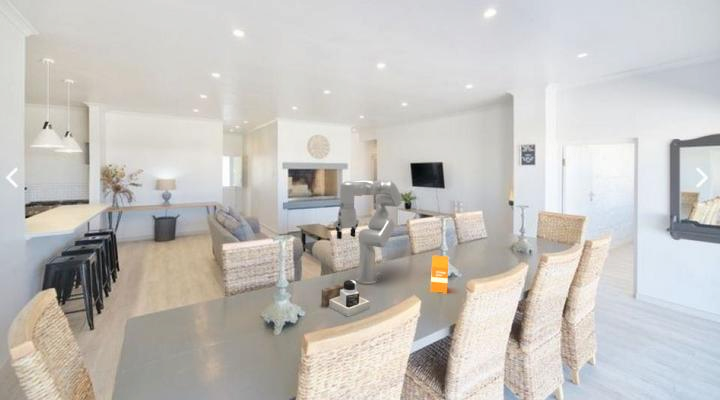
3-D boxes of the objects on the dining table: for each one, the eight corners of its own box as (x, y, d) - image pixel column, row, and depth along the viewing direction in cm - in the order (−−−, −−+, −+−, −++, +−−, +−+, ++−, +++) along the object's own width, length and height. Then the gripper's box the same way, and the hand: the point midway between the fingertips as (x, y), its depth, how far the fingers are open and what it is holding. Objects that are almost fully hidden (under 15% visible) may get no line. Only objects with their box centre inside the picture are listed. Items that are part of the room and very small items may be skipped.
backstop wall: (348, 296, 171) (349, 281, 170) (352, 297, 169) (352, 283, 168) (321, 305, 159) (321, 289, 158) (325, 307, 157) (325, 291, 156)
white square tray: (350, 299, 167) (350, 292, 167) (369, 308, 157) (369, 301, 157) (328, 306, 158) (329, 299, 157) (348, 316, 148) (348, 309, 147)
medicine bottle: (345, 309, 153) (346, 284, 152) (339, 303, 159) (340, 280, 158) (359, 306, 156) (359, 282, 155) (352, 301, 162) (353, 278, 161)
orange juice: (446, 293, 180) (449, 258, 178) (430, 291, 181) (432, 257, 179) (446, 288, 187) (448, 254, 185) (430, 286, 189) (432, 253, 187)
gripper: (339, 207, 163) (338, 241, 165) (363, 205, 175) (362, 236, 177) (329, 206, 169) (329, 238, 170) (354, 204, 181) (353, 234, 182)
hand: (346, 237), depth 174 cm, fingers open, 9 cm apart
